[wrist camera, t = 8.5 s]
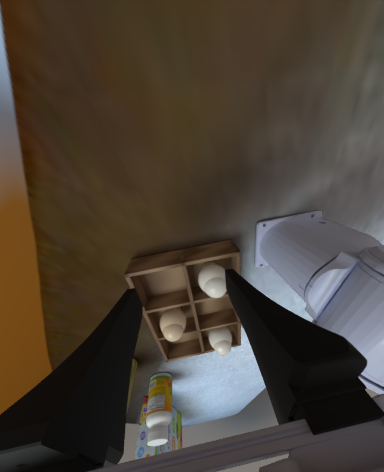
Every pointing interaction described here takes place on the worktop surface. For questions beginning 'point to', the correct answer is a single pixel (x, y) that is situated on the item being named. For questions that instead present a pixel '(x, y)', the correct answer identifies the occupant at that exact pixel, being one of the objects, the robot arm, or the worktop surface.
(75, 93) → the worktop surface
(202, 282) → the cream egg near
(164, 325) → the beige egg
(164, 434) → the supplement bottle
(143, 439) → the snack box
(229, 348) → the cream egg far
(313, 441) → the robot arm
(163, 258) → the egg tray
